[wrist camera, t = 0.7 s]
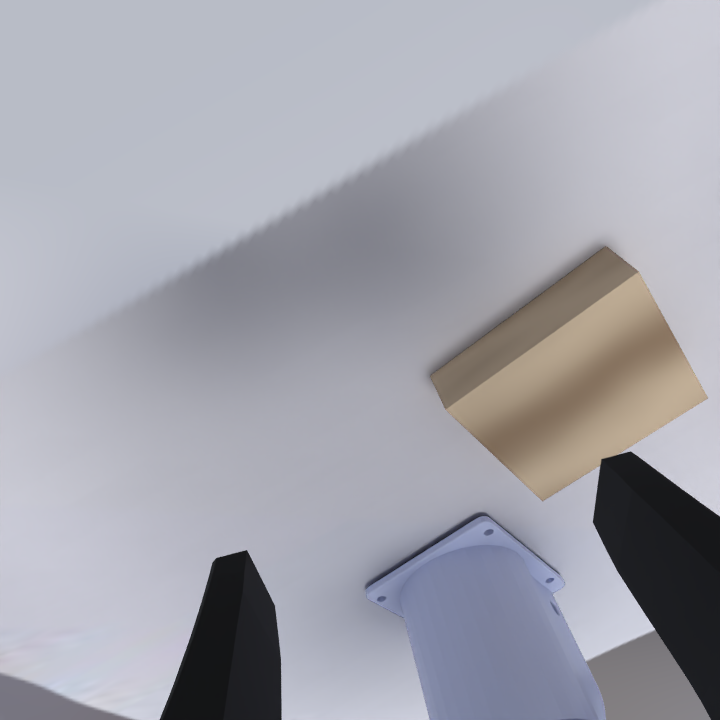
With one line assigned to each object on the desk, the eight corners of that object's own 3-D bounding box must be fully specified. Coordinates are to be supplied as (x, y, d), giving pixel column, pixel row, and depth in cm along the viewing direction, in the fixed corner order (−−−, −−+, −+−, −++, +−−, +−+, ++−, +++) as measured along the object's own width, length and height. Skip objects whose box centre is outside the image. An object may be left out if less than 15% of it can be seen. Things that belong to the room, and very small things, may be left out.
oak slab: (670, 362, 25) (707, 398, 23) (519, 461, 27) (542, 501, 25) (599, 240, 20) (638, 271, 18) (426, 369, 22) (445, 409, 20)
